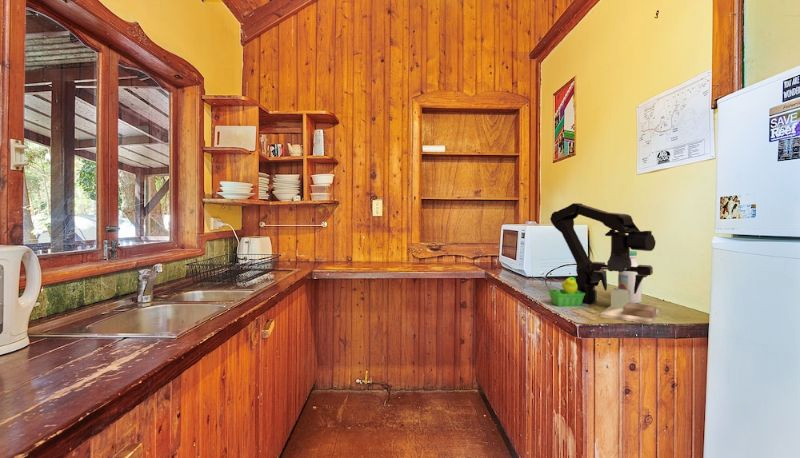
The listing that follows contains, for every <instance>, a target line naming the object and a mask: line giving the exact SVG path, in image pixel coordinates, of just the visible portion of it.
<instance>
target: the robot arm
mask: <svg viewBox="0 0 800 458" xmlns="http://www.w3.org/2000/svg"><path fill="white" fill-rule="evenodd" d="M579 215H580V216H583V217H586V218H589V219H591V220H594V221H597V222H600V223H601V224H603V225H604V226H605V227H607V228H608V229H609V231H608V232H607V233H605V234H604V236H605V237H610V256H609V258H608V260H607V262H605V261H603V262H601V261H592V260H590V258H589V256H588V254H587V252H586V250H585V248H584V246H583V244H582V242H581V240H580V238H579V236H578V235H577V233H576V230H575V228H574V225H575V221H574V220H575V219H576V218H578V216H579ZM549 219H550V222H551V224H552V225H553V226H554V228H555V229H556V230H557V231H558V232H560V234H562V237H563V239H564V241H565V242H566V245H567V247H568V249H569V250H570V253H571V255H572V257H573V259H574V262H575V263H576V267H575V268H576V269H575V272H576V277H574V278H575V279H576V283H577V287H578V288H577V290H578V291H581V292H583V293H585V296H584V298H583V301H582V304H591V305H593V304H594V303H595V302H597V297H598V294H597V293H598V291H597V290H596V287H598V286H599V283H600V281H601V283H602V286H603V289H604V291H607V289H608V280H607V271H609V272H617V273H618V272H623V271H630V272H637V273H638V274H637V275H635V286H634V294H636V292H637V290H638V287H639V285H640V283H641V284H642V281H643V279H644V278H646V277H648V276H651V275H653V273H654V268H653V266H652V265H649V264H648V265H647V264H638V266H637V267H632V266H631V265H632V263H631V258H630V251H643V252H644V251H645V252H652V251H653V250H654V249H655V247H656V240H655V236H654V235H653V234H652V232H653V231H652V230H640V229H639V228H638V227H637V225H636V224H635V223H634V221H633V220H634V219H633V218H632V216H631V215H630V214H627V213H619V212H608V211H606V210H602V209H598V208H595V207H592V206H590V205H589V206H588V205H586V204H583V203H581V202H580V203H579V202H578V203H577V202H574V203H571V204H570V205H568V206H566V207H564V208H561V209H559V210H557V211H556V210H555V211H553V212H552V213H551V215H550V218H549ZM606 263H607V264H606Z"/></svg>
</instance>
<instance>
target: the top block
mask: <svg viewBox="0 0 800 458" xmlns="http://www.w3.org/2000/svg"><path fill="white" fill-rule="evenodd" d="M627 303H630V290H626V289H618V288H617V287H616V288H612V289H610V306H611V307H615V308H622V309H623V307H624V306H625V305H626V304H627Z"/></svg>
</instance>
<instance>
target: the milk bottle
mask: <svg viewBox="0 0 800 458" xmlns="http://www.w3.org/2000/svg"><path fill="white" fill-rule="evenodd" d="M637 256H638V252H637V250H630V258H631V263H632V265H631V266H632V267H637V266H638V265H639V264H638V261H637ZM617 273H618V274H617V275H618V276H617V277H618V280H617V283H618V285H617V289H626V290H630V303H636V304H642V285H643V284H642V282H641V283H640V285H639V287H638V290H637V292H636V294H634V286H635V275H637V274H638V273H637V272H630V271H623V272H618V271H617Z"/></svg>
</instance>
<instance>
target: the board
mask: <svg viewBox="0 0 800 458" xmlns="http://www.w3.org/2000/svg"><path fill="white" fill-rule="evenodd" d="M661 310H662V308H661V307H658V306H656V315H655V316H654V317H653V319H651V318H644V317H638V316H631V315H624V314H623V309H622V308H615V307H611V305H610V306H608V307H606V309H604V310H603V311H601V313H599V317H600V318H606V319H613V320H618V321H624V320H626V321H625V322H630V321H634V322H633V323H636V322H637V323H638V324H643V325H651V324H652V323H653V322H654V320H655V319H656V318H657V317H658V315H659V314H660V312H661Z"/></svg>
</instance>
